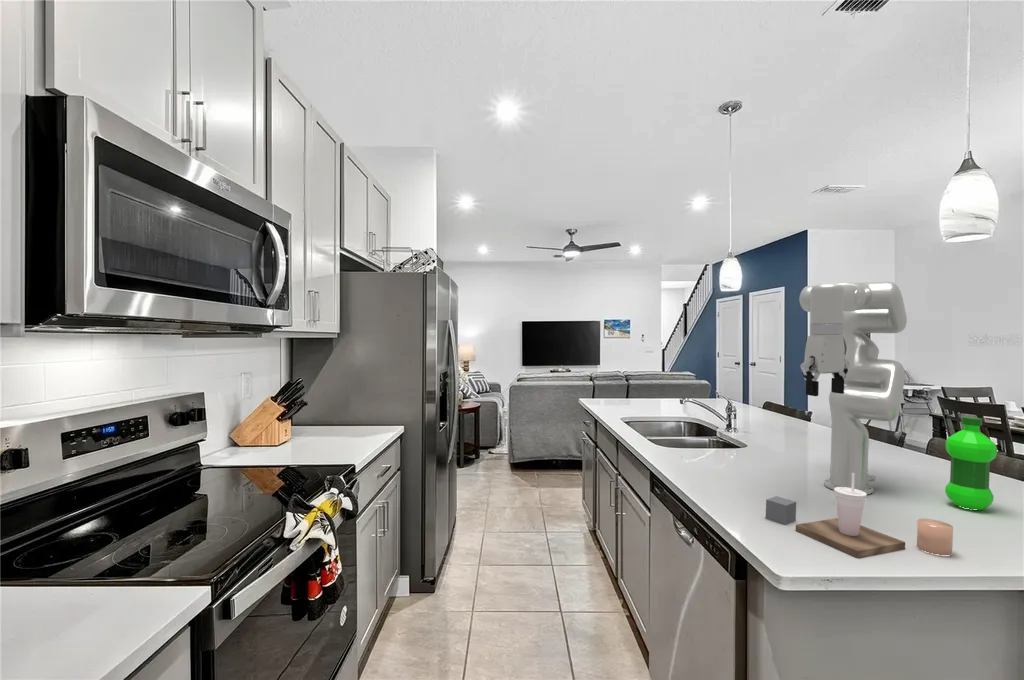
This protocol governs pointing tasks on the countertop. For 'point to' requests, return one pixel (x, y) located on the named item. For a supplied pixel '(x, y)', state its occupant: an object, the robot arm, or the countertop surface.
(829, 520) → the walnut board
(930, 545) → the peach rounded cylinder
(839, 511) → the smoothie
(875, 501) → the countertop surface
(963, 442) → the plastic bottle
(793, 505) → the rubber block
